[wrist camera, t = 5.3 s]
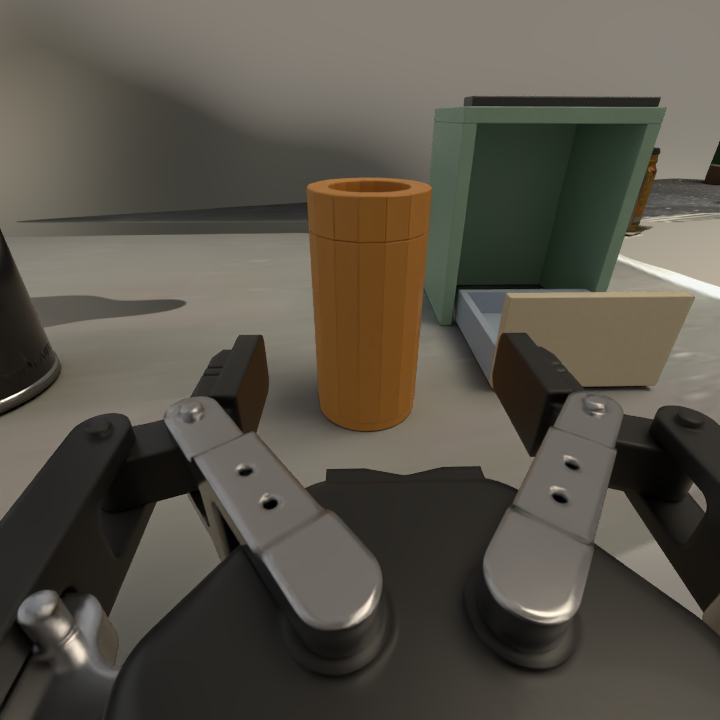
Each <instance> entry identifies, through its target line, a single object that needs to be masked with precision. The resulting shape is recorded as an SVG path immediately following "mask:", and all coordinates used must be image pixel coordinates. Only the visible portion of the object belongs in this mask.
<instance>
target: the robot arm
mask: <svg viewBox="0 0 720 720" xmlns="http://www.w3.org/2000/svg"><path fill="white" fill-rule="evenodd" d="M60 369H61V364H60V361H59V359H58V357H57V354H56V353H55V351H53V350H52V347H51V345H50V343H49V340H48V338H47V336H46V333H45V331H44V329H43V327H42V324H41V322H40V320H39V317H38V315H37V312H36V310H35V308H34V306H33V303H32V301H31V298H30V296H29V294H28V292H27V289H26V287H25V285H24V282H23V280H22V278H21V275H20V273H19V271H18V269H17V266H16V264H15V262H14V259H13V257H12V255H11V252H10V250H9V248H8V246H7V243H6V241H5V239H4V237H3V234H2V232H1V229H0V413H2V412H4V411H7V410H9V409H11V408H13V407H15V406H18V405H20V404H21V403H23V402H25V401H27V400H29V399H31V398H32V397H34V396H35V395H37V394H39V393H40V392H41V391H43V390H44V389H45V388H47V387H48V386H49V385H50V384H51V383H52V382H53V381H54V380H55V379H56V378H57V376H58V374H59V372H60ZM492 383H493V388H494V390H495V392H496V394H497V396H498V398H499V400H500V402H501V403H502V405H503V407H504V409H505V411H506V413H507V415H508V416H509V418H510V420H511V422H512V424H513V426H514V428H515V429H516V431H517V433H518V435H519V437H520V439H521V441H522V442H523V444H524V446H525V448H526V450H527V452H528V454H529V455H530V457H535V458H534V460H533V462H532V464H531V466H530V468H529V470H528V472H527V474H526V476H525V478H524V480H523V482H522V485H521V487H520V489H519V490H517V489H515V488H513V487H511V486H509V485H507V484H504V483H501V482H498V481H495V480H491V479H487V478H485V477H484V475H483V472H482V470H481V467H480V466H470V467H441V468H436V469H432V470H428V471H423V472H419V473H414V474H410V475H399V474H393V473H387V472H382V471H376V470H370V469H365V468H364V469H327V472H326V481H323V482H320V483H317V484H314V485H311V486H309V487H307V488H304V487H303V486H302V485H301V484H300V482H299V481H298V480H297V479H296V478H295V477H294V476H293V474H292V473H291V472H290V471H289V470H288V469H287V468H286V467H285V465H284V464H283V463H282V462H281V461H280V460H279V459H278V457H277V456H276V455H275V454H274V453H273V452H272V451H271V450H270V448H269V447H268V446H267V445H266V444H265V443H264V442H263V440H262V439H261V438H260V437H259V436H258V435H257V434H256V432H257V429H258V425H259V422H260V418H261V415H262V411H263V408H264V404H265V401H266V397H267V394H268V388H269V375H268V368H267V360H266V353H265V345H264V339H263V336H262V335H239V336H238V338H237V340H236V342H235V344H234V346H233V348H232V350H222V351H221V352H220V353H218V354H217V355H216V356H214V357H213V358H212V360H211V361H210V363H209V365H208V368H207V369H206V370H205V372H204V374H203V376H202V377H201V379H200V381H199V383H198V385H197V386H196V388H195V390H194V392H193V393H192V395H191V397H190V398H186V399H183V400H181V401H179V402H177V403H175V404H173V405H172V406H171V407H170V408H168V410H167V411H166V412H165V415H164V419H163V420H160V421H156V422H152V423H147V424H143V425H138V426H134V427H132V425H131V423H130V420H129V418H128V417H127V416H125V415H122V414H117V413H109V414H103V415H99V416H95V417H92V418H90V419H88V420H86V421H84V422H82V423H80V424H79V425H77V426H76V427H75V428H74V429H73V430H72V431H71V432H70V433H69V434H68V436H67V437H66V438H65V440H64V441H63V442H62V443H61V445H60V446H59V447H58V448H57V450H56V451H55V452H54V454H53V455H52V456H51V457H50V459H49V460H48V461H47V462H46V464H45V465H44V466H43V468H42V469H41V470H40V471H39V473H38V474H37V475H36V476H35V478H34V479H33V480H32V482H31V483H30V484H29V485H28V487H27V488H26V489H25V490H24V492H23V493H22V494H21V496H20V497H19V498H18V499H17V501H16V502H15V503H14V504H13V506H12V507H11V508H10V510H9V511H8V512H7V513H6V515H5V516H4V517H3V518H2V520H1V521H0V720H720V426H719V425H718V424H717V423H716V422H715V421H714V420H712V419H711V418H709V417H708V416H706V415H704V414H702V413H700V412H698V411H695V410H692V409H689V408H685V407H681V406H663V407H661V408H659V409H658V411H657V413H656V415H655V417H654V419H647V418H641V417H636V416H630V415H625V414H624V412H623V409H622V407H621V406H620V405H619V404H618V403H617V402H616V401H614V400H613V399H611V398H609V397H607V396H605V395H602V394H599V393H596V392H591V391H586V390H585V389H584V388H583V387H582V385H581V384H580V383H579V382H578V381H577V380H576V378H575V377H574V376H573V375H572V374H571V373H570V372H568V369H567V368H566V367H565V366H564V365H562V362H561V361H560V360H559V359H558V358H557V357H556V356H555V354H553V353H551V352H550V351H548V350H546V349H545V348H543V347H538V346H537V345H536V344H535V343H534V341H533V340H532V339H531V338H530V337H529V335H528V334H527V333H502V334H501V336H500V338H499V342H498V347H497V352H496V357H495V362H494V368H493V373H492ZM693 483H695V484H696V485H697V487H698V488H699V489H700V490H701V491H702V493H703V494H704V496H705V499H706V503H707V510H706V513H705V512H704V511H703V510H702V508H701V507H700V506H699V505H698V504H697V502H696V501H695V500H694V499H693V498H692V496H691V495H690V494H689V493H688V491H689V490H690V488H691V486H692V484H693ZM607 488H611V489H616V490H620V491H624V493H625V494H626V496H627V498H628V499H629V501H630V502H631V504H632V505H633V507H634V508H635V510H636V511H637V513H638V514H639V516H640V517H641V519H642V520H643V522H644V523H645V525H646V526H647V528H648V529H649V531H650V532H651V534H652V535H653V537H654V538H655V540H656V542H657V543H658V545H659V546H660V547H661V549H662V551H663V552H664V554H665V555H666V557H667V558H668V560H669V561H670V563H671V564H672V566H673V567H674V569H675V570H676V572H677V573H678V575H679V576H680V578H681V579H682V581H683V582H684V584H685V585H686V587H687V588H688V590H689V591H690V593H691V595H692V596H693V598H694V599H695V600H696V602H697V604H698V605H699V607H700V608H701V609H702V611H703V616H702V620H701V619H700V618H698V617H697V616H696V615H695V614H693V613H692V612H690V611H689V610H687V609H686V608H685V607H683V606H682V605H680V604H679V603H678V602H676V601H675V600H673V599H672V598H670V597H669V596H668V595H666V594H665V593H663V592H662V591H661V590H659V589H658V588H657V587H655V586H654V585H652V584H651V583H650V582H648V581H647V580H645V579H644V578H642V577H641V576H640V575H638V574H637V573H635V572H634V571H633V570H631V569H630V568H628V567H627V566H625V565H624V564H623V563H621V562H620V561H619V560H617V559H616V558H614V557H613V556H612V555H610V554H609V553H607V552H606V551H605V550H603V549H602V548H600V547H599V546H598V545H596V544H595V543H594V539H595V535H596V531H597V527H598V523H599V519H600V515H601V512H602V508H603V504H604V500H605V496H606V492H607ZM186 493H187V495H188V497H189V499H190V501H191V503H192V504H193V506H194V508H195V510H196V512H197V513H198V515H199V517H200V519H201V521H202V522H203V524H204V526H205V528H206V530H207V531H208V533H209V535H210V537H211V539H212V541H213V543H214V545H215V548H216V550H217V553H218V555H219V558H220V560H221V563H220V564H219V565H218V566H217V567H216V568H215V569H214V570H213V571H212V572H211V573H209V574H208V575H207V576H206V577H205V578H204V579H203V580H202V581H201V582H200V583H199V584H198V585H197V586H196V587H195V588H194V589H193V590H192V591H191V592H190V593H189V594H188V595H187V596H185V597H184V598H183V599H182V600H181V601H180V602H179V603H178V604H177V605H176V606H175V607H174V608H173V609H172V610H171V611H170V612H169V613H168V614H167V615H166V616H165V617H164V618H162V619H161V620H160V621H159V622H158V623H157V624H156V625H155V626H154V627H153V628H152V629H151V630H150V631H149V632H148V633H147V634H146V635H145V636H144V637H143V638H142V639H141V640H140V642H139V643H138V644H137V645H136V647H135V648H134V649H133V650H132V652H131V653H130V654H129V656H128V658H127V659H126V661H125V662H124V664H123V665H122V666H120V667H119V666H115V661H116V657H117V652H118V647H119V640H118V635H117V632H116V631H115V629H114V627H113V625H112V624H111V622H110V620H109V618H108V617H109V614H110V612H111V609H112V607H113V605H114V602H115V600H116V597H117V595H118V593H119V590H120V588H121V586H122V583H123V581H124V578H125V576H126V574H127V571H128V569H129V566H130V564H131V562H132V559H133V557H134V555H135V552H136V550H137V547H138V545H139V543H140V540H141V538H142V535H143V533H144V531H145V528H146V526H147V524H148V521H149V519H150V516H151V514H152V512H153V509H154V507H155V505H156V502H157V501H161V500H164V499H168V498H172V497H175V496H179V495H183V494H186Z"/></svg>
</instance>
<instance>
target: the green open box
mask: <svg viewBox="0 0 720 720" xmlns="http://www.w3.org/2000/svg"><path fill="white" fill-rule="evenodd" d="M659 102H660V97H563V96H561V97H559V96H558V97H557V96H543V97H542V96H471V97H465V98H464V107H452V108H439V109H435V118H434V121H435V122H434V131H433V142H432V155H431V167H430V179H429V186H431V187H432V197H431V209H430V220H429V229H428V231H429V233H428V244H427V256H426V267H425V279H424V290H425V292H426V294H427V297H428V299H429V301H430V303H431V305H432V308H433V310H434V312H435V314H436V317H437V319H438V321H439V323H440V325H451V323H452V315H453V307H454V300H455V292H456V285H531V284H540V285H541V286H542V287H543V288H544V289H587V290H589V291H590V292H606V291H607V288H608V285H609V282H610V279H611V276H612V273H613V270H614V267H615V264H616V261H617V258H618V255H619V252H620V249H621V246H622V242H623V239H624V236H625V233H626V230H627V227H628V224H629V221H630V218H631V215H632V212H633V209H634V206H635V203H636V200H637V197H638V194H639V191H640V188H641V185H642V182H643V179H644V176H645V172H646V169H647V166H648V163H649V160H650V157H651V154H652V151H653V148H654V145H655V142H656V139H657V136H658V133H659V130H660V127H661V123H662V121H663V118H664V115H665V112H666V109H667V108H666V107H658V105H659Z"/></svg>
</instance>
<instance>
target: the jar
mask: <svg viewBox="0 0 720 720" xmlns="http://www.w3.org/2000/svg"><path fill="white" fill-rule="evenodd" d="M431 197H432V187H431V186H429V185H428V184H426V183H422V182H418V181H411V180H403V179H390V178H344V179H332V180H325V181H319V182H315V183H312V184H309V185H308V187H307V203H308V220H309V237H310V254H311V271H312V288H313V305H314V322H315V339H316V356H317V373H318V390H319V400H320V407H321V410H322V412H323V413H324V415H325V416H326V417H327V418H328V419H329V420H331V421H332V422H333V423H335V424H337V425H339V426H342V427H344V428H348V429H352V430H358V431H377V430H383V429H387V428H390V427H393V426H395V425H397V424H399V423H400V422H402V421H403V420H404V419H405V418H406V417H407V416H408V415H409V414H410V412H411V410H412V406H413V399H414V393H415V382H416V370H417V359H418V348H419V336H420V325H421V313H422V302H423V290H424V279H425V267H426V256H427V244H428V233H429V231H428V229H429V220H430V209H431Z"/></svg>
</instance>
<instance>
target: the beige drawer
mask: <svg viewBox="0 0 720 720" xmlns="http://www.w3.org/2000/svg"><path fill="white" fill-rule="evenodd" d="M694 299H695V295H693V294H691V293H689V292H687V291H680V292H590V291H589V290H587V289H492V290H458V298H457V305H456V314H455V320H456V322H457V324H458V326H459V327H460V329H461V331H462V333H463V335H464V337H465V339H466V341H467V342H468V344H469V346H470V348H471V350H472V352H473V354H474V356H475V357H476V359H477V361H478V363H479V365H480V367H481V369H482V370H483V372H484V374H485V376H486V378H487V380H488V381H489V383H490V385H491V387H492V388H493V383H492V373H493V368H494V362H495V357H496V352H497V347H498V342H499V338H500V336H501V334H502V333H527V334H528V335H529V337H530V338H531V339H532V340H533V341H534V343H535V344H536V345H537V346H538V347H543V348H545V349H546V350H548V351H550V352H551V353H553V354H555V356H556V357H557V358H558V359H559V360H560V361H561V362H562V365H564V366H565V367H566V368H567V369H568V372H570V373H571V374H572V375H573V376H574V377H575V378H576V380H577V381H578V382H579V383H580V384H581V385H582V387H593V386H655V385H656V383H657V381H658V379H659V377H660V374H661V372H662V370H663V368H664V365H665V363H666V361H667V359H668V357H669V354H670V352H671V350H672V348H673V345H674V343H675V341H676V339H677V336H678V334H679V332H680V330H681V328H682V325H683V323H684V321H685V319H686V316H687V314H688V312H689V310H690V307H691V305H692V303H693V301H694Z"/></svg>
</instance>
